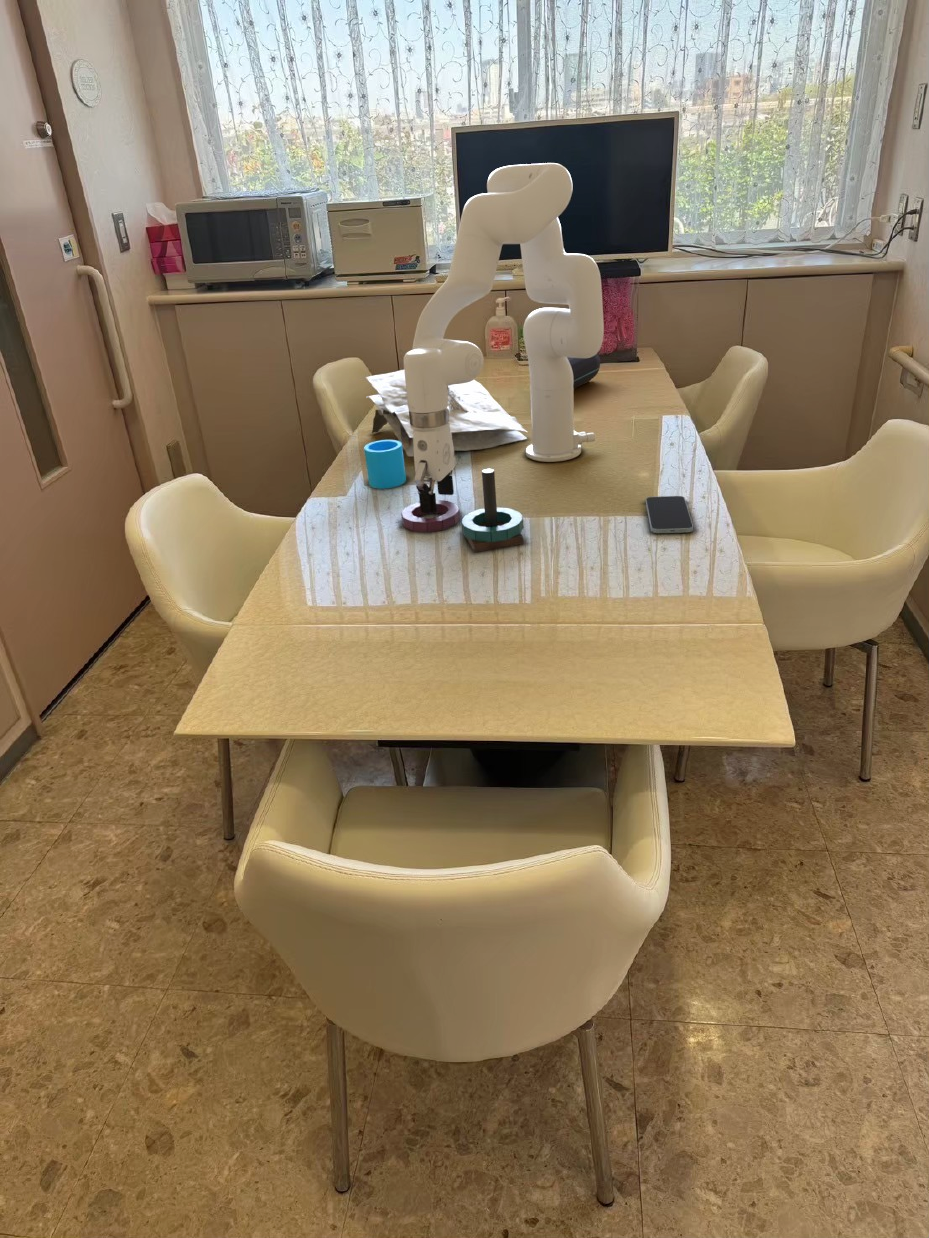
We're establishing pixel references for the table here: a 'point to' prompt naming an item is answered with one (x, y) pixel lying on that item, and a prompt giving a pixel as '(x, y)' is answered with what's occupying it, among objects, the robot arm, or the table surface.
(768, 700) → the table surface
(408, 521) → the plum ring
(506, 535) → the teal ring
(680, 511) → the smartphone
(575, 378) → the portable speaker
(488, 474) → the peg stand
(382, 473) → the mug
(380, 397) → the plastic wrap
